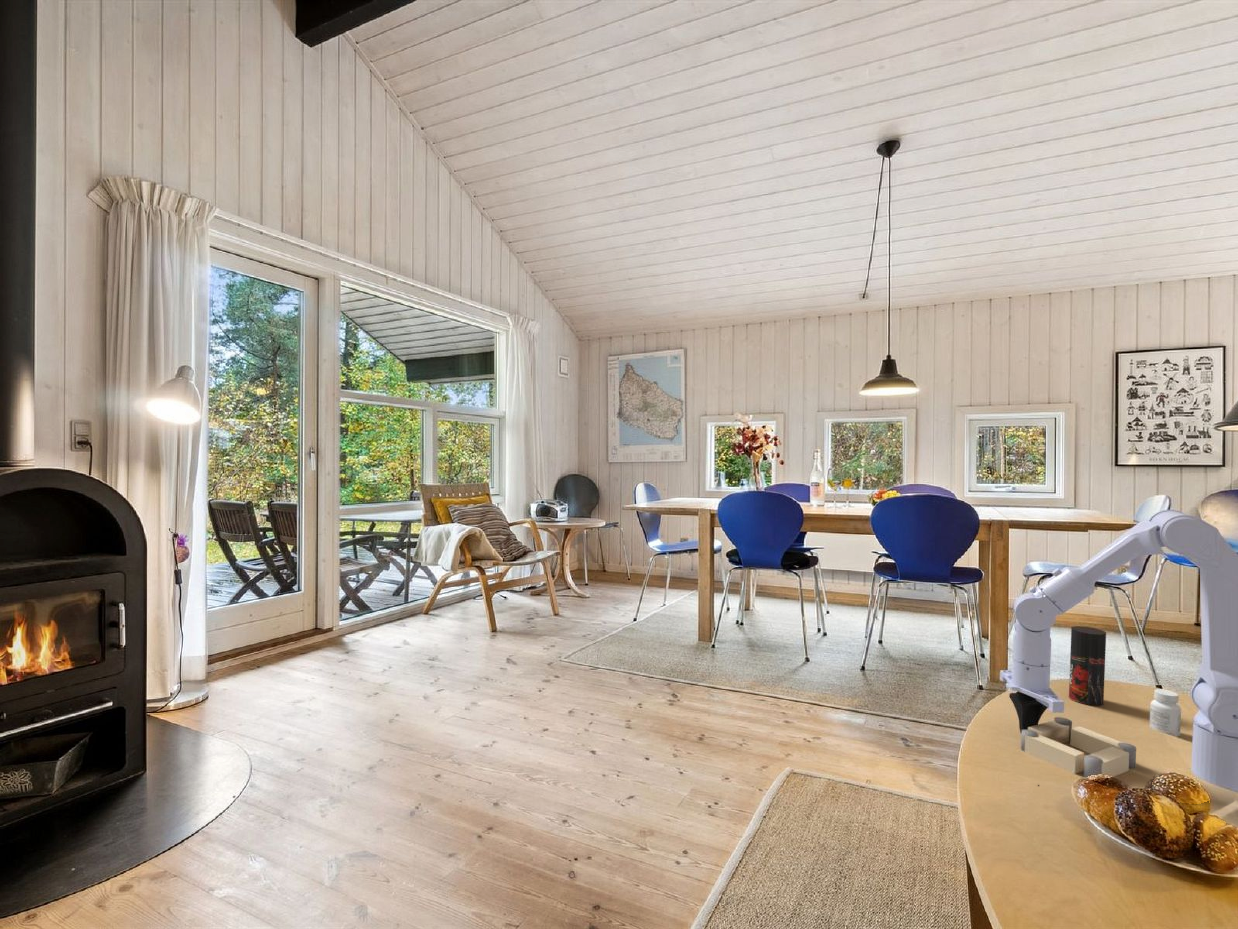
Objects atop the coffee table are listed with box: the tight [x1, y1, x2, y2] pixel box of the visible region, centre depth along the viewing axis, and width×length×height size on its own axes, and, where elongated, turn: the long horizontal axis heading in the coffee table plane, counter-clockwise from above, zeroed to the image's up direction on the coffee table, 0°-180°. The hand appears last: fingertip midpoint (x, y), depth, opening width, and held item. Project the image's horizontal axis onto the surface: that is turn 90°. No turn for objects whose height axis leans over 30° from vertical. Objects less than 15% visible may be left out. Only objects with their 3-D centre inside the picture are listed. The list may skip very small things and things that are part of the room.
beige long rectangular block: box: [1028, 716, 1073, 745], centre depth 114 cm, size 9×3×3 cm, turn 114°
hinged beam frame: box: [1020, 725, 1137, 778], centre depth 108 cm, size 13×13×4 cm
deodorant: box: [1068, 625, 1107, 707], centre depth 134 cm, size 6×6×15 cm
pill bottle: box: [1149, 688, 1182, 738], centre depth 119 cm, size 4×4×8 cm
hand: (1028, 734), depth 115 cm, fingers closed
